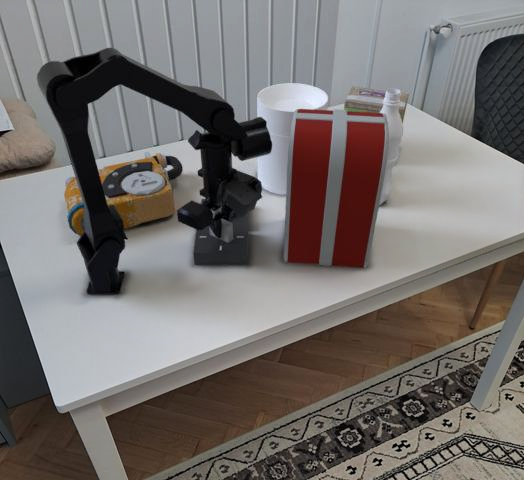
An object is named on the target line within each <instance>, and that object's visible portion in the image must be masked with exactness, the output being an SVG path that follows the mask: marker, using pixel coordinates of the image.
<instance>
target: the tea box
mask: <svg viewBox="0 0 524 480" xmlns="http://www.w3.org/2000/svg"><path fill="white" fill-rule="evenodd" d="M385 94H386V90H381V89H373V88H367V87H360V86H351V88H350V90H349V92H348V94H347V96H346V98H345V101H344V106H343V110H347V111H352V112H372V113H380V111H381V109H382V108H383V105H384V104H383V100H384V98H385ZM409 95H410V94H409V93H404V92H401V95H400V105H399V114H400V117H401V120H402V124H404V119H405V115H406V110H407V105H408V100H409Z"/></svg>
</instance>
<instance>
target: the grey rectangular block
mask: <svg viewBox="0 0 524 480" xmlns="http://www.w3.org/2000/svg"><path fill="white" fill-rule="evenodd" d="M210 235H212V236H214V237H216V236H215V234H214V233H213V231H212V230H211V228H210ZM216 238H217V237H216ZM219 239H221V240H223V241H225V242H228V243H229V242H231V241H232V240H233V223H231V222H229V221H226V220H224V219H222V234H221V238H219Z"/></svg>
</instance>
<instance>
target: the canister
mask: <svg viewBox="0 0 524 480" xmlns="http://www.w3.org/2000/svg"><path fill="white" fill-rule="evenodd" d="M328 106H329V95H328V94H327V92H326V91H325V90H322V89H321V88H319V87H316V86H314V85H312V84H305V83H299V82H298V83H296V82H287V83H277V84H273V85H268V86H266V87H264V88H262V89H261V90H260V91H259V92H258V93H257V97H256V114H257V115H256V116H257V117H256V118H258V117H262V118H263V119H264V120H265V121H266V122H267V124H266V127H267V129H268V131H269V134H270V138H271V141H272V150H271V153H270V154H268V155H264V156H260V157H257V179H258V180H259V181H261V185H262V189H264V190H266V191H267V192H270V193H272V194H277V195H280V196H286V188H287V165H288V149H289V137H290V129H291V123H292V117H293V113H294V111H295V110H296V109H298V110H299V109H312V110H328Z"/></svg>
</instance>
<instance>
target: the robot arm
mask: <svg viewBox="0 0 524 480" xmlns="http://www.w3.org/2000/svg"><path fill="white" fill-rule="evenodd" d="M36 81H37V86H38V88H39V90H40V93H41V94H42V96H43V98H44V100H45V103H46V104H47V106H48V108H49V109H50V112H51V114H52V116H53V117H54V119H55V121H56V123H57V126H58V127H59V129H60V131H61V136H62V139H63V141H64V146H65V149H66V152H67V155H68V158H69V161H70V165H71V167H72V168H71V169H72V170H73V174H74V177H76V181H77V184H78V187H79V190H80V194H81V197H82V200H83V203H84V214H83V218H84V227H85V231H84V232H83V234H82V235H81V236H79V238H78V239H77V241H76V246H77V247H78V250H79V252H80V254H81V256H82V259H83V262H84V265H85V269H86V272H87V276H88V278H89V282H88V285H87V288H86V291H85V292H86V294H87V295H120V294H121V291H122V287H123V284H124V280H125V277H126V271H123V270H121V271H120V270H119V267H118V266H119V261H120V256H121V254H122V252H123V251H125V248H126V240H129V237H128V235H127V234H126V232H125V228H124V224H123V220H122V218H121V216H120V215H119V213H118V211H117V209H116V208H115V206H114V205H111V206H108V205H107V201H106V197H105V193H104V190H103V186H102V182H101V179H100V175H99V171H98V170H99V168H98V164H97V160H96V157H95V153H94V150H93V146H92V142H91V139H90V133H89V118H90V111H89V104H91V103H94V102H96V101H98V100H100V99H101V98H102V97H103V96H104V95H106V94H107V93H108V92H110V91H111V90H112V89H113V88H115V87H118V86H120V85H121V86H123V87H125V88H126V89H128V90H129V89H130V90H132V91H134V92H136V93H138V94H140V95H143V96H144V97H148V98H149V99H151V100H153V101H156V102H159V103H160V104H163V105H165V106H166V107H168V108H172V109H174V110H176V111H177V112H180V113H182V114H183V115H184V116H186V117H188V118H189V119H190V120H191V121H193V122H194V123H195V124H196V125H198V126H199V127H200V128H201V129H203V130H205V131H206V132H201V131H199V130H198V129H196V130H195V131H194V133H193V134H192V135H191V136H190V137H188V139H187V142H188V144H189V145H190V146H191V147H192V148H193V149H194V150H195V151H199V152H200V163H201V164H200V165H201V168H200V169H198V170H197V177H200V178H202V185H203V188H201V189H199V190H198V191H199V196H200V197H203V198H204V199H205V200H204V201H202V202H201V201H200V202H196V201H194V200H192V199H191V200H190V201H189V202H187V203H185V204H183V205H182V206H181V207H179V208H178V209H177V210H176V215H177V221H178V222H179V223H181V224H183V225H185V226H188V227H190V228H192V229H194V230H195V231H196V230H203V229H204V228H206V227H207V226H209V227H210V228H211V230H212V231H213V233H214V234H215V236H216V237H217V238H221V234H222V219H224V220H226V221H229V222H231V219H232V216H233V213H234V211H235V212H236V214H237V215H239V216H245V215H246V214H247V213H249V214H250V212H251V211H253V210H255V209H256V205H257V202H258V201H260V200H261V199H262V198H263V195H262V192H263V187H262V185H261V181H259V180H258V177H256V176H253V175H251V174H248V173H246V172H243V171H240V170H238V169H236V168H234V167H233V156H234V157H235V158H236V157H237V159H238V160H239V161H240V162H243V161H248V160H251V159H255V158H258V157H260V156H264V155H268V154H270V153H271V150H272V141H271V138H270V134H269V131H268V129H267V127H266V124H267V122H266V121H265V120H264V119H263V118H262V117H255V118H253V119H250V120H245V121H241V122H238V121H237V120H236V119H235V116H236V114H235V109H234V107H233V106H232V105H231V104H230V103H229V102H228V101H226V99H224V97H222V96H221V95H220V94H219V93H217V92H216V91H215V90H212V89H209V88H205V87H201V86H197V85H188V84H184V83H181V82H180V81H178V80H175V79H174V78H172V77H170V76H168V75H165V74H164V73H161V72H159V71H158V70H155V69H153V68H151V67H149V66H147V65H145V64H143V63H141V62H139V61H137V60H135V59H134V58H131V57H129V56H127V55H124V54H123V53H121V52H120V51H119V50H118V49H117V48H114V47H106V48H103V49H101V50H99V51H96V52H93V53H88V54H83V55H78V56H74V57H70V58H69V59H66V60H64V61H59V60H51V61H48V62H46V63H44V64H43V65H42V66H41V67H40V69H39V71H38V72H37V76H36Z"/></svg>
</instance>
